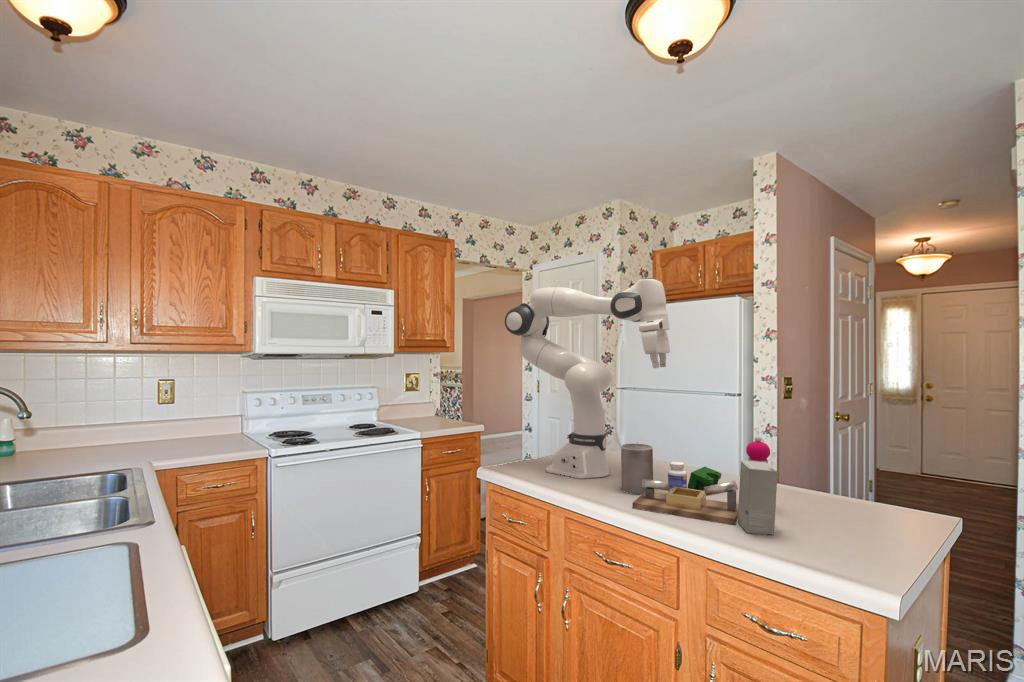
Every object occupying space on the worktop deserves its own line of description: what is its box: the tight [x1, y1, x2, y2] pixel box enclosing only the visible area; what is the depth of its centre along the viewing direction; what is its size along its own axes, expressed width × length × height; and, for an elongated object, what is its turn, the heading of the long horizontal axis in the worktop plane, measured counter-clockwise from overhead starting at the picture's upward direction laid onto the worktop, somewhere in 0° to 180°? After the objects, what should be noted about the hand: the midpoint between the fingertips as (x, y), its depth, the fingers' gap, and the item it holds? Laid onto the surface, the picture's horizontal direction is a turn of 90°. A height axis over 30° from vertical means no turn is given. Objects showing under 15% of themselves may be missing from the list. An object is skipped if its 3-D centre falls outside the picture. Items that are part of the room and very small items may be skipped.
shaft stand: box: [631, 479, 739, 526], centre depth 137 cm, size 26×14×9 cm, turn 60°
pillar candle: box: [620, 442, 654, 495], centre depth 155 cm, size 10×10×15 cm
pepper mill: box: [745, 435, 771, 464], centre depth 138 cm, size 7×7×20 cm
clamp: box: [687, 466, 722, 491], centre depth 157 cm, size 12×6×9 cm, turn 133°
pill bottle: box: [667, 461, 688, 493], centre depth 150 cm, size 5×5×10 cm
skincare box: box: [737, 459, 778, 536], centre depth 122 cm, size 8×7×16 cm
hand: (659, 367), depth 164 cm, fingers open, 8 cm apart
